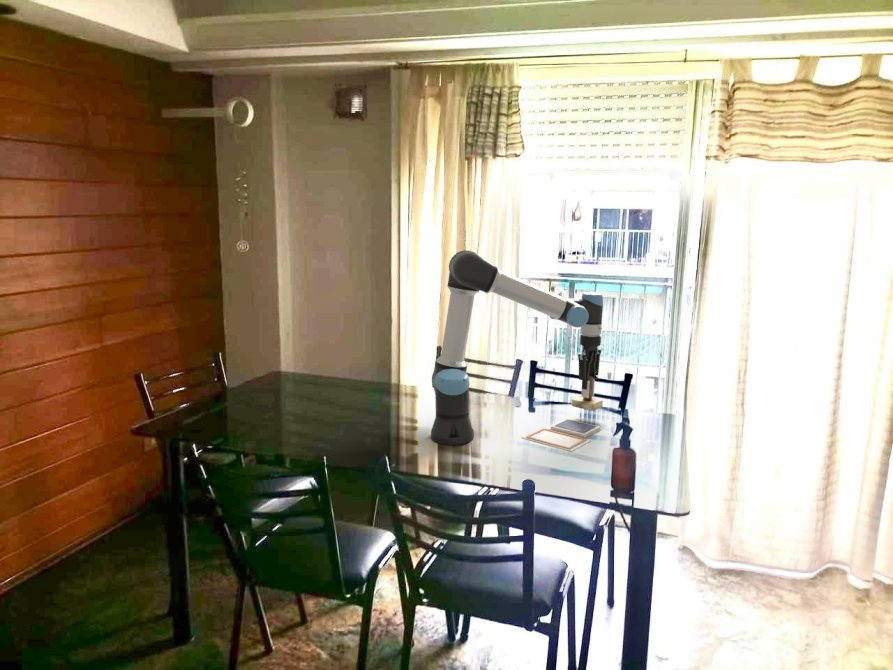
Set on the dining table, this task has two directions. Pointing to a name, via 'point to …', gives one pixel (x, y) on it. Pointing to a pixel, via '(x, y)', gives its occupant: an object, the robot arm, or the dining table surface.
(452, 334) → the robot arm
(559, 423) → the ink pad
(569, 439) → the marked sheet
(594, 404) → the stamp
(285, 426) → the dining table surface
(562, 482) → the dining table surface
